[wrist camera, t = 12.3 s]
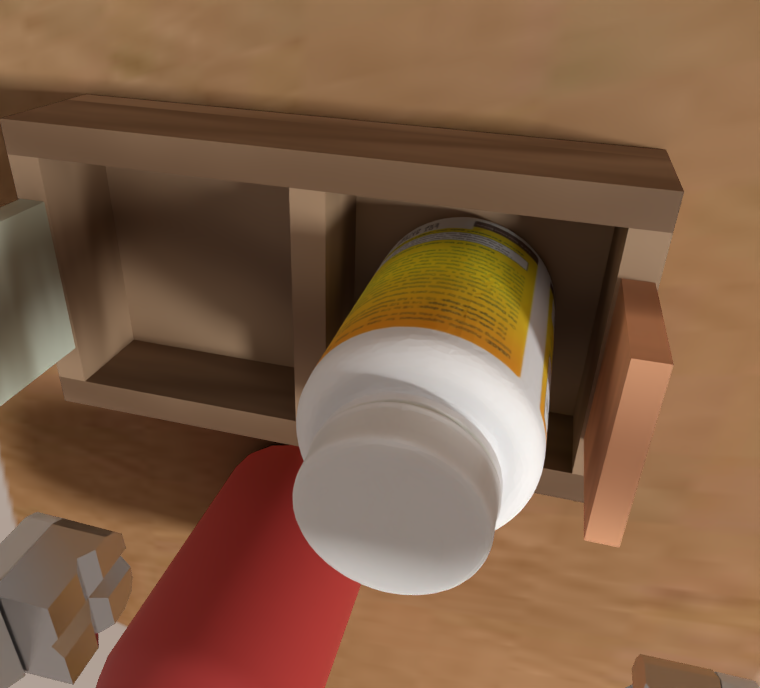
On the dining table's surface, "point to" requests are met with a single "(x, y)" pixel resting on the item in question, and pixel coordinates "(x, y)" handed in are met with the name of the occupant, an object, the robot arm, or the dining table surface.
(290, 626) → the beer can
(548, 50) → the dining table surface
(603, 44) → the dining table surface
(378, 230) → the wooden compartment tray
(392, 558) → the supplement bottle
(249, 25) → the dining table surface
